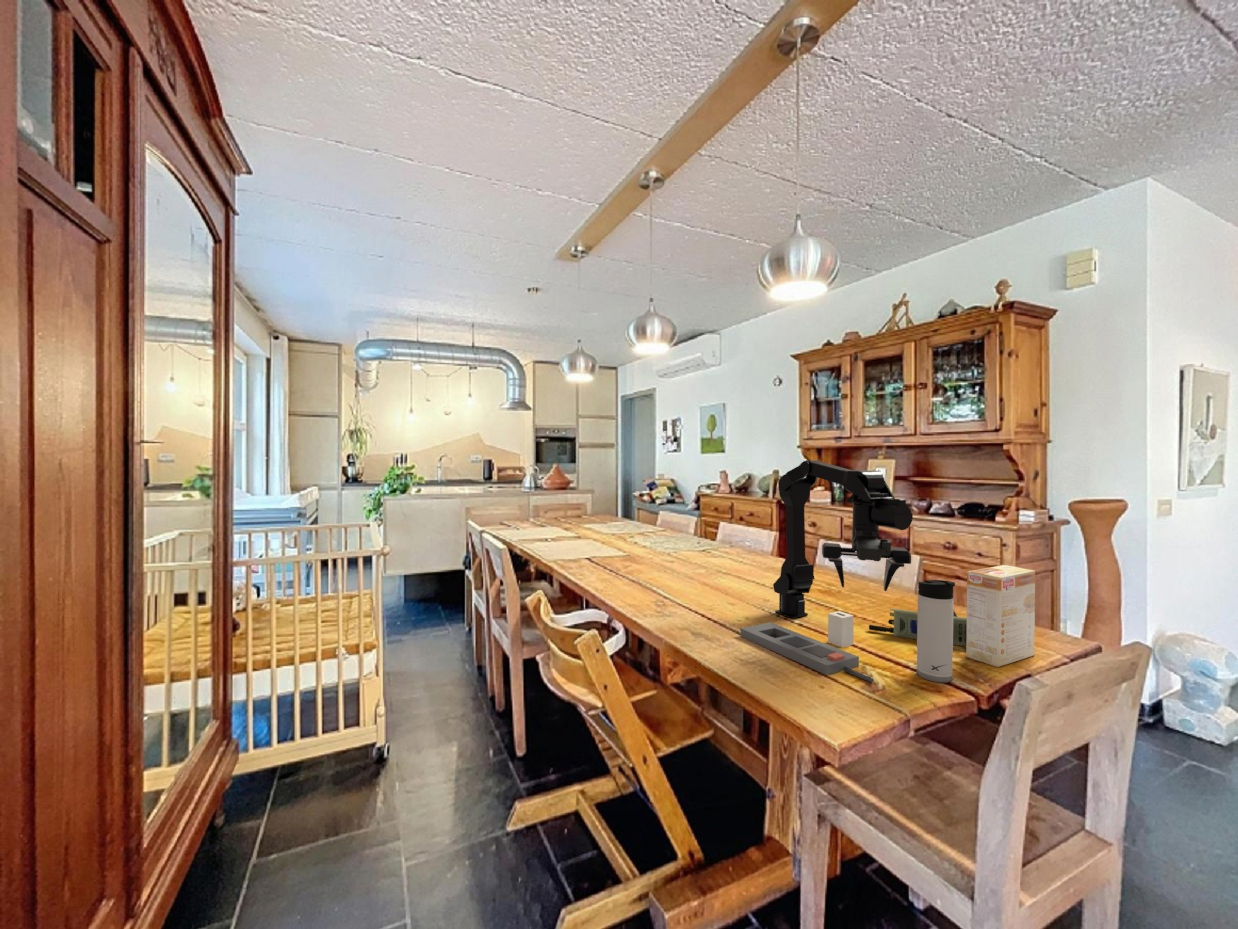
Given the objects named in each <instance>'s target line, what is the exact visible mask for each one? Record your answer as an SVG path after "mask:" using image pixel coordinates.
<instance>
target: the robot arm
mask: <svg viewBox="0 0 1238 929" xmlns="http://www.w3.org/2000/svg"><path fill="white" fill-rule="evenodd" d="M818 479H822V480H825V481H827V482H828V481H829V482H831V483H835V484H837V485H840V486H842V487H843V488H844V490H846V491H848V492H849V493H851V495H850V496H849V497H848V498H846V500H845V502H846V504H847V503H848V504H852V522H851V523H852V526H851V527H852V528H851V547H843V546H841V545H840V543H834V542H824V543H823V544H821V554H822V557H823V559H824V558H825V559H827V560H828V562H829V563H833V565H834V567H835V569H836V571H837V572H836V573H837V576H838V579H839V582H840V585H841V588H844V587H845V576H844V575H845V574H844V568H843V567H844V566H843V563H844V562H843V559H842V556H848V557H857V559H858V560H860V561H874V562H880V561H881V560H882V559H885V566H884V567H885V568H884V576H883V591H884V592H887V591H888V588H889V586H890V584H891V581H892V579H893V576H894V575H895V573H896V572H897V570H899V568H904V567H905V564H906V565H910V564H912V553H911V552H910V551H909V550H907V549H906V548H905V547H902V546H900V547H897V546H892V541H891V539H886V538H881V539H880V536H879V535H880V534H879V532H880V527H884V528H888V529H892V530H898V531H899V530H900V531H905V530H907V529H908V528H910V527H911V525H912V522H913V518H914V517H913V516H914V514H913V513H912V510H911V508H910V507H909V505H907V500H906V499H905V498H895V496H894V494H893V493H892V491H891V489H890V487H889V485H888V484H887V482H886V479H885V478H884V475H883V473H882V472H881V471H879V470H863V469H862V470H859V469H857V470H856V469H850V468H845V467H842V466H837V465H835V464H830V463H825V462H823V461H821V460H816V459H813V460H812V459H811V460H808V459H807V460H803V461H802V462H801V463H800V464H799V465H798V466H795V467H794V468H793V469H790V470H788V471H787V472H785V474H783V475H781V476H780V479H778V482H777V483H778V491H779V492H778V494H779V497H780V499H781V501H782V502H783V504H784V505H785V533H786V536H785V539H786V540H785V541H786V557H785V559H784V562H783V563H782V565H781V568H780V576H779V577H778V578H777V579H776V581H775V582H773V583H772V587H773V591H774V593H777V594H779V597H778V598H779V599H778V601H779V605H778V609H777V610H775V611H774V612H775V613H776V614H778V615H781V616H784V617H787V618H790V619H795V618H801V617H806V616H807V617H808V616H809V614H808V612H806V600H805V594H809V593H810V591H811V587H812V585H813V583H814V580H815V575H814V570H815V566H814V564H811V563H809V561H808V559H807V556H806V529H805V528H806V526H805V524H806V522H805V521H806V520H805V506H806V504H807V501H808V500H809V499H810V495H811V489H812V487H813V486H814V485H815V484H816V483H817V481H818Z"/></svg>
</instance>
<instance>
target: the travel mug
mask: <svg viewBox="0 0 1238 929" xmlns="http://www.w3.org/2000/svg"><path fill="white" fill-rule="evenodd" d="M917 586H918V592H917V596H918V597H917V612H918V621H917V639H916V674H917V675H918V676H919V677H920V678H922V679H924V680H927V681H930V682H935V683H940V684H941V683H949V682H952V680H953V668H954V666H953V664H954V663H953V662H954V661H953V660H954V659H953V658H954V652H953V651H954V645H953V609H954V602H955V601H954V587H956V582H954V581H951V580H950V581H949V580H941V579H930V580H929V579H928V580H924V581H918V585H917ZM954 610H955V609H954Z"/></svg>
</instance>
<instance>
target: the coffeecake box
mask: <svg viewBox="0 0 1238 929" xmlns="http://www.w3.org/2000/svg"><path fill="white" fill-rule="evenodd" d="M1035 611H1036V570H1035V569H1029V568H1023V567H1019V566H1013V565H1007V564H1001V565H997V566H992V567H985V568H980V569H975V570H974V569H973V570H969V571H966V618H967V640H966V646H965V647H966V649H965V650H966V651H965V652H966V654H965V657H966V658H968V659H972V660H975V661H978V662H981V663H984V664H987V665H990V666H993V667H995V668H1000V667H1002V666H1005V665H1008V664H1011V663H1015V662H1018V661H1021V660H1025V659H1027V658H1028V659H1029V658H1030V657H1033V656H1035V629H1036V628H1035V624H1036V622H1035V621H1036V620H1035V618H1036V616H1035V614H1036V612H1035Z"/></svg>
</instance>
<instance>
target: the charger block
mask: <svg viewBox="0 0 1238 929" xmlns="http://www.w3.org/2000/svg"><path fill="white" fill-rule="evenodd" d="M827 615H828V616H827V617H828V618H827V643H829V644H831V643H832V644H831V645H835V646H837V647H839V648H846V647H849V646H853V645H854V625H855V624H854V623H855V622H854V618H855V616H854V615H853V614H850V613H846V612H844V611H840V610H839V611H835V612H829V613H828V614H827Z"/></svg>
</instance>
